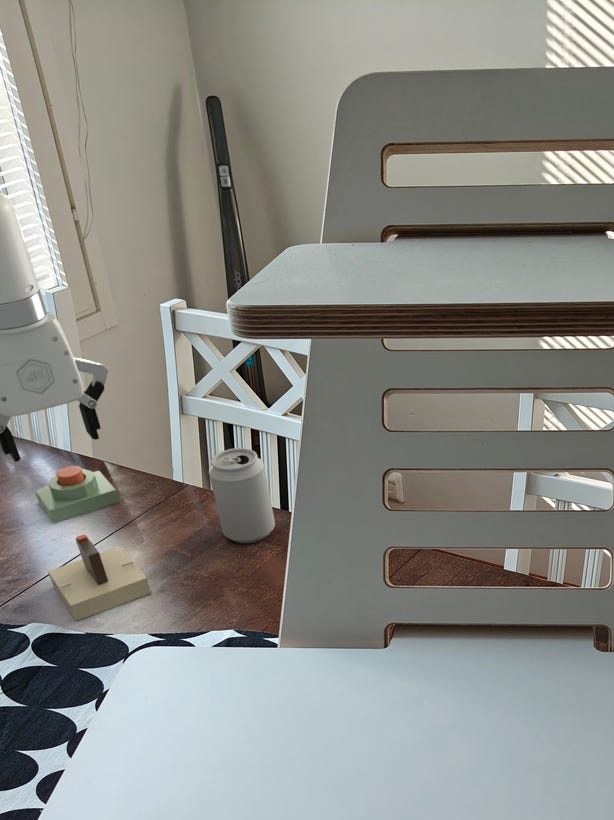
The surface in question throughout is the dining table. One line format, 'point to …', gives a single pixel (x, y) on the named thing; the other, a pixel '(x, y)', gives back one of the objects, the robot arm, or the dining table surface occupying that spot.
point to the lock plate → (94, 598)
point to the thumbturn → (91, 559)
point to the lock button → (70, 476)
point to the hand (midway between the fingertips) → (54, 446)
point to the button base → (76, 496)
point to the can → (241, 495)
